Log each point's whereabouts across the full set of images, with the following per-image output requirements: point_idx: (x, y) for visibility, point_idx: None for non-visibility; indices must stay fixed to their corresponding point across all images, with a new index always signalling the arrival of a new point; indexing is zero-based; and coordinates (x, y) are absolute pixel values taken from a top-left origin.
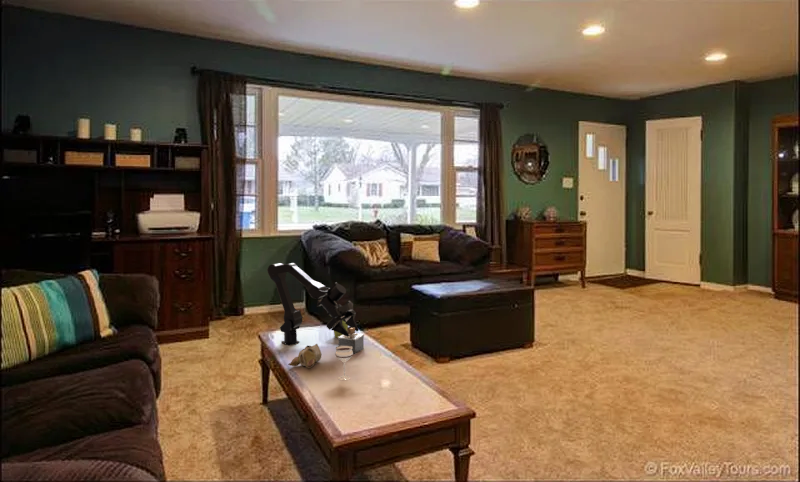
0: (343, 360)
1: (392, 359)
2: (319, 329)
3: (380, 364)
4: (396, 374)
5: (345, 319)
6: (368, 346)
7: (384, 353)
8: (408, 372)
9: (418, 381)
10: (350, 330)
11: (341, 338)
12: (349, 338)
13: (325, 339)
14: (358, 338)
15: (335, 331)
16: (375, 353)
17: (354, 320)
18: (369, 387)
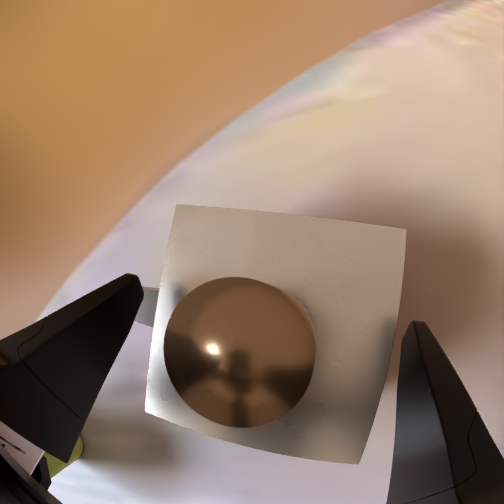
0: None
1: (369, 47)
2: None
3: (458, 81)
4: (496, 37)
5: (29, 469)
6: (169, 232)
7: (289, 95)
8: (459, 11)
9: (490, 4)
10: (315, 340)
11: (370, 420)
12: (394, 314)
13: (120, 499)
14: (320, 221)
15: (62, 467)
16: (306, 137)
17: (12, 341)
18: None
